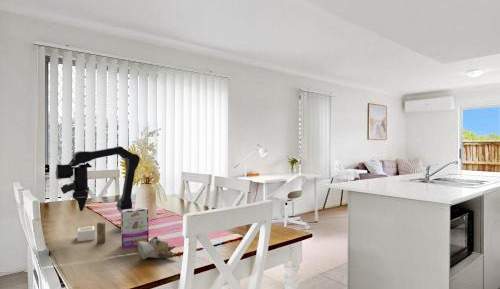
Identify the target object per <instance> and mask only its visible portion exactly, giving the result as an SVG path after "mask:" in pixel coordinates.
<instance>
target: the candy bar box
mask: <svg viewBox="0 0 500 289" xmlns="http://www.w3.org/2000/svg"><path fill="white" fill-rule="evenodd" d="M120 228H121V229H120V239H121V240H120V243H121V249H128V248H133V247H135V248H136V247H138V241H143V242H149V241H150V240H149V234H150V233H149V208H148V207H147V206H145V207H137V208H135V207H134V208H133V207H132V209H124V210H121V212H120Z"/></svg>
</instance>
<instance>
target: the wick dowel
mask: <svg viewBox="0 0 500 289" xmlns="http://www.w3.org/2000/svg"><path fill="white" fill-rule="evenodd" d="M105 243H106V221H99V222H96V244H98V245H99V244H102V245H103V244H105Z"/></svg>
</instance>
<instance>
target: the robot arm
mask: <svg viewBox="0 0 500 289" xmlns="http://www.w3.org/2000/svg"><path fill="white" fill-rule="evenodd" d="M117 155H118V156H120V157H121V158H122V159H124V164H125V174H124V175H125V176H124V182H123V189H122V194H121V197H120V198H117V200H116V202H117V203H116V205H115V207H116V209H117V211H118V212H119V213H121V210H124V209H133V201H132V193H133V187H134V186H133V185H134V179H135V175H136V174H135V173H136V170H137V168H138V166H139V164H140V161H141V159H140V156H139V155H138V154H136V153H133V152H131V151H129V150H127V149H125V148H124V147H123V146H119V145H118V146H115V147H108V148H104V149H99V150H93V151H91V150H87V151H86V150H85V151H76V152H74V153H73V154H72V159H71V160H70V162H69V163H68V164H67V163H66V164H61V163H60V164H56V168H55V178H56V180H62V179H63V180H64V179H71V178H72V177H73V178H74V180H73V182H71V183H65V184H64V185H62V186H61V187H60V189H61V192H62V194H63V195H65V194H67V193H69V192H71V191H73V192H72V198H73V199H74V200H75V201H77V202H76V203H77V205H78V209H79V212H83V210H84V208H85V205H86V203H87V200H88V198H89V194H90V192H89V191H90V186H88V185H89V184H88V180H89V179H88V178H89V177H88V174H89V173H88V168H92V165H91V164H90V163H89V162H91V161H93V160H96V159H101V158H104V157H109V156H117Z"/></svg>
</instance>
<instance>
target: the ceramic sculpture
mask: <svg viewBox="0 0 500 289" xmlns="http://www.w3.org/2000/svg"><path fill="white" fill-rule="evenodd" d="M174 249H176V246H173V245H172V246H169V243H168V242H167V240H165V239H164V238H158V236H153V237H152V238H151V239H150V240H149V242H143V241H138V246H137V250H138V253H139V255H140V258H141V259H142V260H144V261H145V260H146V259H148V258H154V259H169V258H173V257H176V256H177V254H176V253H173V252H172V250H174Z"/></svg>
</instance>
